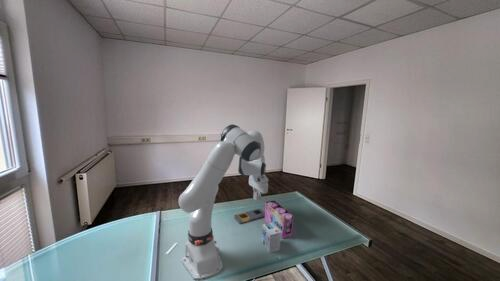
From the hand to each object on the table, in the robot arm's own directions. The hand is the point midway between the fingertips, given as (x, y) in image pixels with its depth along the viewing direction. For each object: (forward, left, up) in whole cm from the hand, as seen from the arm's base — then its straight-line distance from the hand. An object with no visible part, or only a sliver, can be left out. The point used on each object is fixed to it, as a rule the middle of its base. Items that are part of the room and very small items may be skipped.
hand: (257, 194), depth 141 cm
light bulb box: (-32, +11, -16) cm, 37 cm away
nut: (0, 0, -3) cm, 3 cm away
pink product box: (-19, -4, -16) cm, 26 cm away
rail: (-1, +6, -16) cm, 17 cm away
